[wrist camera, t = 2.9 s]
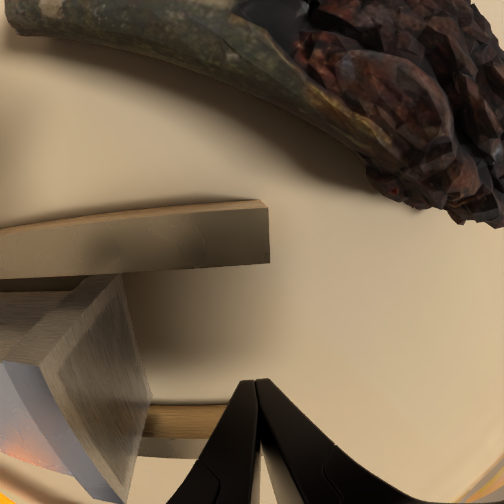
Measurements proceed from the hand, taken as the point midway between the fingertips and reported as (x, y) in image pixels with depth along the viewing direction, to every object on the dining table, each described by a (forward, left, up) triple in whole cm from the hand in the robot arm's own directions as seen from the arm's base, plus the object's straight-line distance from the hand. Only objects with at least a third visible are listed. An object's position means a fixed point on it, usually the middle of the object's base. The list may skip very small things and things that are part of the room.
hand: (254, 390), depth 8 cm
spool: (0, +9, -3) cm, 10 cm away
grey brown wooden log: (+11, -2, -3) cm, 11 cm away
